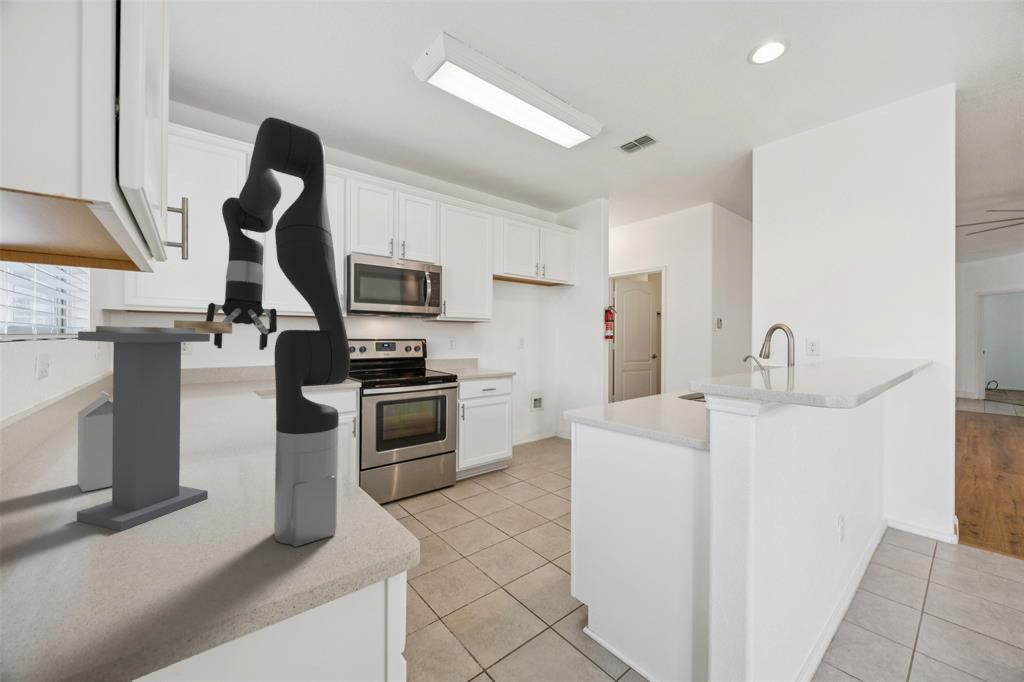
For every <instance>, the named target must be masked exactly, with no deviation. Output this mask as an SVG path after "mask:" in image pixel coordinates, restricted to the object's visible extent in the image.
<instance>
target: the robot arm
mask: <svg viewBox="0 0 1024 682" xmlns="http://www.w3.org/2000/svg"><path fill="white" fill-rule="evenodd" d="M325 152H326V151H325V145H324V142H323V140H322V137H321V136H320V134H318V133H317V132H314V131H312V130H310V129H308V128H305V127H303V126H300V125H296V124H294V123H291V122H289V121H286V120H284V119H280V118H277V117H271V116H270V117H267V118H265V119H263V121H262V122H261V124H260V125H259V128H258V131H257V134H256V137H255V142H254V147H253V151H252V154H251V155H252V156H251V158H250V164H249V169H248V176H247V178H246V181H245V183H244V185H243V186H242V189H241V191H240V192H239V195H238V197H229V198H227V199H225V201H224V202H223V204H222V207H221V212H222V218H223V221H224V225H225V228H226V232H227V238H228V263H227V267H226V274H225V293H224V303H223V304H216V303H214V302H210V303H209V304H208V305H207V311H206V318H205V321H209V322H214V317H215V314H218V313H219V311H220V310H221V311H222V312H223V313H224V315H225V318H224V319H222V321H221V322H232V324H235V325H238V324H243V325H254V326H255V328H257V330H258V331H259V332H260V335H259V342H258V344H259V345H258V350H259V351H265V350H264V349H265V348H267V347H268V339H269V338H268V337H269V335H270V334H273V333H276V332H277V331H278V328H277V327H278V324H277V322H278V321H277V309H276V308H264V307H263V290H264V289H263V288H264V270H263V269H264V267H263V266H264V251H265V250H264V245H263V244H262V242H260V241H258V240H257V239H253V238H251V237H249V236H247V235H246V234H245V233H244V232H243V231H242V230H245V231H250V232H254V233H259V234H263V233H268V232H269V231H271V230H272V228H273V225H274V214H273V213H274V210H275V209H276V208H277V205H278V204H279V202H280V201H281V198H282V187H281V184H280V182H279V179H278V178H277V176H276V174H275V173H274V171H275V172H277V173H281V174H284V175H288V176H292V177H294V178H295V177H296V178H299V179H301V181H302V183H303V189H302V190H301V192H300V194H299V196H298V197H297V199H295V201H293V202H292V203H291V205H289V207H288V208H287V209H286V210H285V211H284V212H283V214H282V215H281V216H280V218H279V219H278V221H277V223H276V225H275V228H274V234H275V235H274V237H275V248H276V258H277V263H278V264H277V265H278V267H279V268H280V270H281V272H282V273H283V275H284V276H285V277H286V279H287V280H288V281H289V282H290V284H291V285H292V286H293V287H294V289H296V291H297V292H298V293H299V294H300V295H301V296H302V297H303V299H304V300H305V302H306V303H307V304H308V305H309V307H310V309H311V311H312V312H313V314H314V316H315V319H316V322H317V325H318V328H319V330H318V329H285V330H282V331H281V332H279V334H278V336H277V338H276V340H275V346H274V353H273V354H274V376H275V420H276V422H275V423H276V424H275V452H274V454H275V456H274V457H275V458H274V459H275V461H274V465H275V466H274V473H275V474H274V528H273V529H274V531H273V532H274V533H273V534H274V535H273V536H274V539H275V540H276V541H277V542H279V543H281V544H287V545H292V546H293V547H295V548H296V547H299V546H302V545H305V544H309V543H312V542H315V541H319V540H322V539H326V538H329V537H332V536H335V535H336V529H337V519H338V517H337V516H338V515H337V513H338V467H339V466H338V465H339V463H338V462H339V460H338V459H339V457H338V456H339V455H338V454H339V421H340V420H339V411H338V409H337V408H335V407H334V406H331V405H327V404H322V403H319V402H315V401H312V400H310V399H308V398H306V397H305V396H304V395H303V391H302V387H303V388H304V387H318V386H319V387H321V386H333V385H341V384H343V383H344V382H345V381H346V380H347V379H348V377H349V373H350V372H351V371H350V370H351V351H350V346H349V340H348V334H347V330H346V324H345V321H344V316H343V312H342V305H341V302H340V295H339V289H338V284H337V283H338V282H337V280H338V279H337V273H336V271H337V270H336V260H335V251H334V242H333V235H332V228H331V224H330V218H329V217H330V216H329V207H328V200H327V197H328V196H327V177H326V176H327V173H326V153H325ZM263 314H264V315H265V316H266V318H268V319H269V320H268V328H266V326H265V324H264V323H263V321H261V319H260V318H261V316H262V315H263ZM223 334H224V333H213V335H214V338H213V345H214V347H216V349H223V348H222V347H223Z"/></svg>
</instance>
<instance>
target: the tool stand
mask: <svg viewBox="0 0 1024 682" xmlns="http://www.w3.org/2000/svg"><path fill="white" fill-rule="evenodd" d="M77 341H84V342H85V341H86V342H103V343H105V342H107V343H113V351H112V352H113V355H112V356H113V357H112V358H113V360H112V361H113V362H112V365H113V368H112V369H113V371H112V373H113V375H112V378H113V380H112V401H113V457H112V486H111V490H112V491H111V500H110V501H107V502H103V503H100V504H97V505H94V506H91V507H87V508H85V509H81V510H77V511H76V521H77V522H82V523H86V524H89V525H93V526H98V527H102V528H107V529H110V530H114V531H119V532H123V531H125V530H128V529H131V528H133V527H136V526H139V525H141V524H143V523H146V522H149V521H153V520H154V519H157V518H160V517H162V516H163V517H164V516H165V515H168V514H170V513H174V512H175V511H178V510H180V509H183V508H186V507H189V506H191V505H194V504H197V503H199V502H202V501H205V500H207V499H208V495H209V491H208V490H206V489H199V488H195V487H194V488H193V487H189V486H184V485H183V486H182V485H180V468H181V467H180V465H181V463H180V458H181V457H180V455H181V450H180V449H181V390H182V389H181V388H182V387H181V386H182V385H181V383H182V382H181V377H182V376H181V375H182V374H181V373H182V372H181V371H182V370H181V369H182V343H192V342H193V343H195V342H196V343H197V342H198V343H199V342H201V343H202V342H204V343H205V342H210V341H211V333H112V332H96V331H77Z"/></svg>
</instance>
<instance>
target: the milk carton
mask: <svg viewBox="0 0 1024 682" xmlns="http://www.w3.org/2000/svg"><path fill="white" fill-rule="evenodd" d="M112 457H113V400H110V394H109V393H107V392H106V391H104V390H102V391H101V396H100V397H98V398H96V399H95V400H94V401H92V402H91V403H90V404H88V405H86V406H85V407H83V408H82V409H80V410H79V411H77V485H78V487H79V488H80V490H81V492H83V493H84V492H89V491H95V490H101V489H104V488H110V487H112Z"/></svg>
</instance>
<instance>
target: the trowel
mask: <svg viewBox="0 0 1024 682" xmlns="http://www.w3.org/2000/svg"><path fill="white" fill-rule="evenodd" d="M95 332H112V333H202V334H214V333H223V334H233V323H232V322H222V321H213V322H209V321H206V320H204V321H203V320H179V319H177V320H173V327H169V326H167V327H163V326H162V327H161V326H160V327H159V326H118V325H116V326H114V325H113V326H112V325H108V326H106V325H95Z"/></svg>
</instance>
